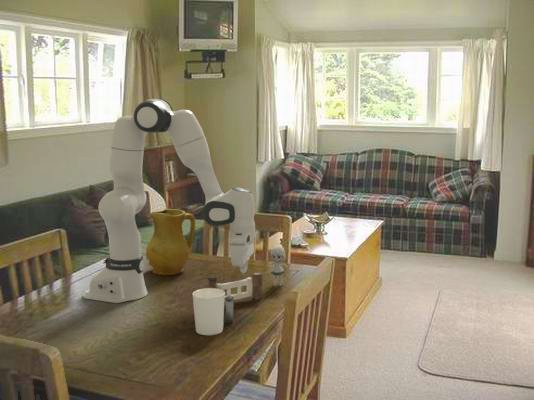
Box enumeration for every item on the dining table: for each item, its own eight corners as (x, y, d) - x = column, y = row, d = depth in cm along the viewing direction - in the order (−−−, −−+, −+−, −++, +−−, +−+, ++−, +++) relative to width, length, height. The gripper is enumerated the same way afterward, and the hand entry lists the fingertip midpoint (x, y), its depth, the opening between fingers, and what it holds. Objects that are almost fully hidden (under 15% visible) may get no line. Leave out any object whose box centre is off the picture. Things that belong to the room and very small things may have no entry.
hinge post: (207, 309, 219) (206, 278, 217) (209, 306, 222) (209, 276, 220) (215, 309, 219) (215, 279, 217) (218, 306, 221) (217, 276, 220)
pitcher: (153, 263, 274) (153, 205, 269) (196, 267, 272) (198, 208, 267) (140, 276, 258) (140, 214, 253) (186, 280, 255) (187, 218, 250)
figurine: (262, 285, 245) (262, 246, 243) (268, 280, 251) (268, 242, 248) (288, 288, 241) (288, 248, 239) (294, 283, 247) (294, 245, 244)
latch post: (224, 323, 206) (223, 298, 205) (226, 320, 209) (226, 295, 208) (232, 323, 206) (232, 299, 204) (235, 320, 208) (234, 296, 207)
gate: (218, 303, 220) (217, 284, 219) (216, 302, 221) (215, 283, 220) (251, 296, 228) (251, 278, 227) (249, 295, 229) (249, 277, 228)
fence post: (256, 299, 229) (256, 274, 227) (252, 298, 230) (252, 273, 229) (262, 298, 230) (262, 273, 228) (258, 296, 232) (258, 272, 230)
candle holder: (212, 338, 194) (212, 300, 191) (186, 332, 199) (185, 294, 197) (231, 328, 202) (231, 291, 200) (206, 322, 207) (205, 286, 205)
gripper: (240, 227, 240) (242, 263, 242) (226, 240, 220) (228, 279, 222) (257, 227, 238) (258, 264, 241) (245, 240, 219) (246, 280, 221)
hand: (243, 272), depth 231 cm, fingers closed
